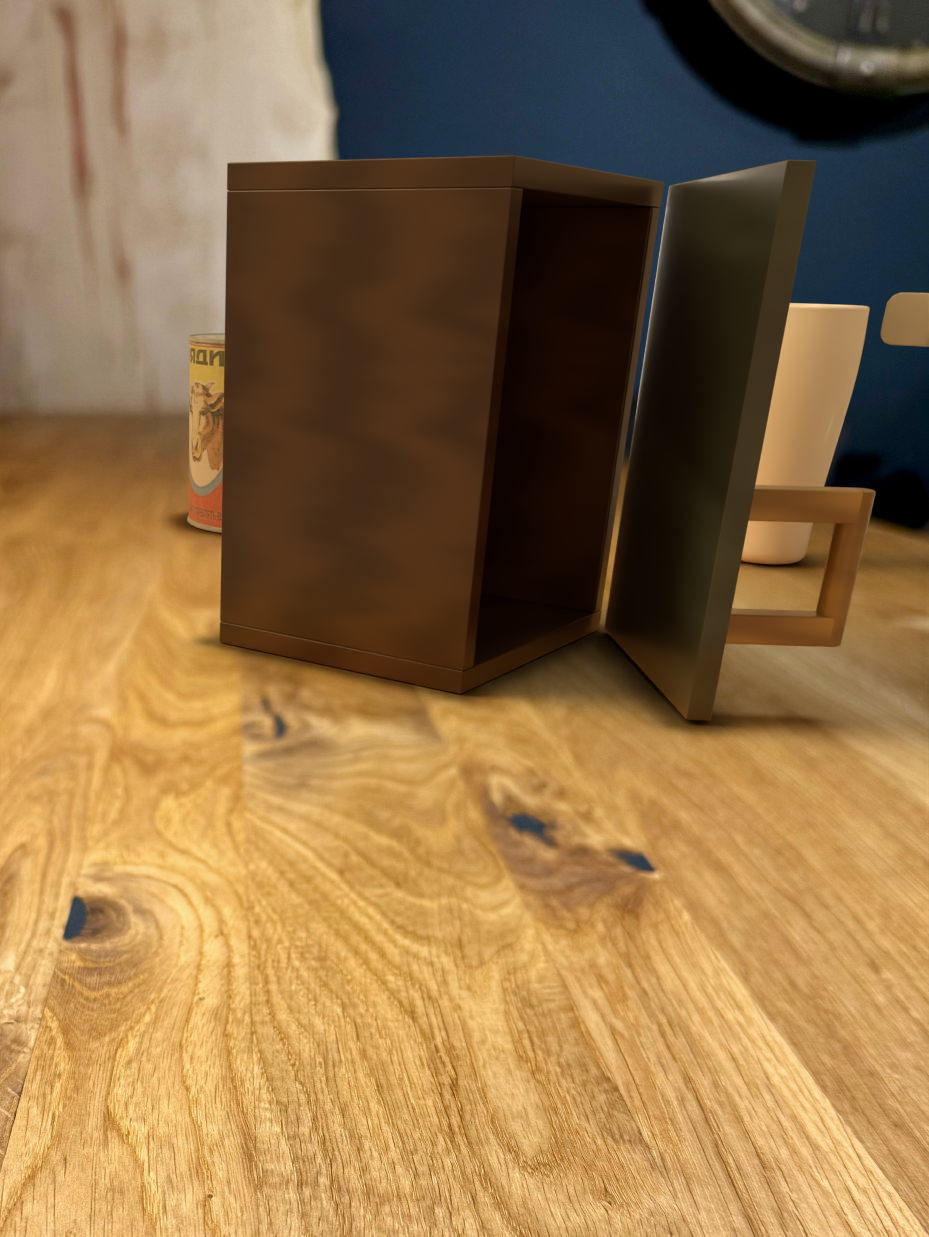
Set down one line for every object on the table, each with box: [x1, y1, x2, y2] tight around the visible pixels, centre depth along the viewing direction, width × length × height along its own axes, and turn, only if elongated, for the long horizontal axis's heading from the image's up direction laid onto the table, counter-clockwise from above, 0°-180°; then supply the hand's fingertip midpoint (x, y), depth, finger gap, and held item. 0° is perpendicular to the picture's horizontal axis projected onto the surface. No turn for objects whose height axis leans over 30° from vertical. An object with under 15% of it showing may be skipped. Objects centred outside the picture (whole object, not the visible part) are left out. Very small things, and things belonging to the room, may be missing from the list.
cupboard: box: [219, 154, 665, 695], centre depth 60 cm, size 13×15×20 cm
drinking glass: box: [741, 302, 871, 565], centre depth 82 cm, size 7×7×15 cm
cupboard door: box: [603, 159, 877, 721], centre depth 55 cm, size 6×15×20 cm, turn 179°
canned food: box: [187, 332, 225, 534], centre depth 90 cm, size 11×11×12 cm
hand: (908, 317), depth 53 cm, fingers open, 6 cm apart
